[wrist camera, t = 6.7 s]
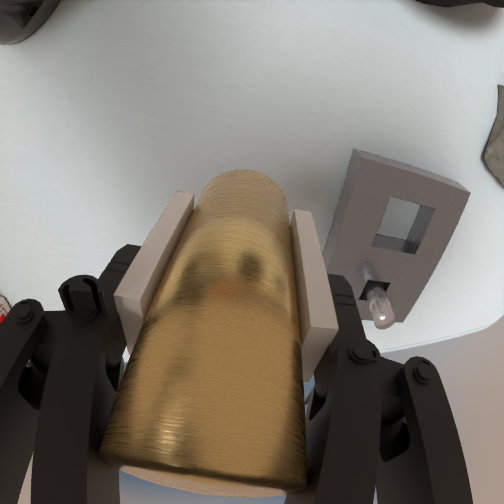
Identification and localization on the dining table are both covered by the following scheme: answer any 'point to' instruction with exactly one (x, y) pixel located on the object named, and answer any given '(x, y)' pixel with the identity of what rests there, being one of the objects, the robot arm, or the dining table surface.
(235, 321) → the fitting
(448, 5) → the hut
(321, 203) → the dining table surface
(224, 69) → the dining table surface
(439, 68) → the dining table surface
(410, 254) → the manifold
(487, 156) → the stone
